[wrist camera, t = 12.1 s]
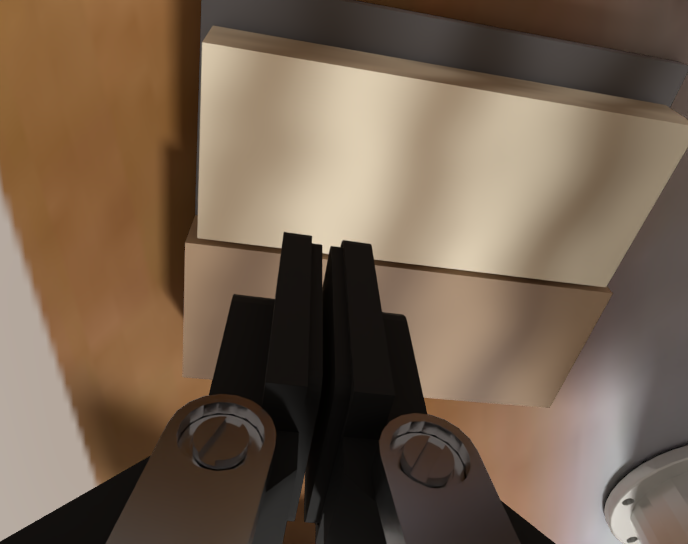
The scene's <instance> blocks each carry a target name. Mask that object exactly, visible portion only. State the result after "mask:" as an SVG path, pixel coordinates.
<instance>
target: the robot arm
mask: <svg viewBox="0 0 688 544" xmlns="http://www.w3.org/2000/svg"><path fill="white" fill-rule="evenodd" d="M304 474H305V499H304V521H305V522H310V523H316V538H315V544H555V543H554V542H553V541H551V540H550V539H549V538H548V537H546V536H545V535H544V534H542V533H541V532H540V531H539V530H537V529H536V528H535V527H534V526H532V525H531V524H530V523H529V522H527V521H526V520H525V519H524V518H522V517H521V516H520V515H518V514H517V513H516V512H515V511H513V510H512V509H511V508H510V507H508V506H507V505H506V504H505V503H503V502H502V501H501V500H500V498H499V496H498V494H497V492H496V489H495V487H494V485H493V483H492V481H491V479H490V477H489V474H488V472H487V470H486V468H485V466H484V464H483V461H482V459H481V457H480V455H479V453H478V451H477V449H476V448H475V446H474V445H473V443H472V441H471V440H470V438H468V437H467V436H466V435H465V434H464V433H463V432H462V431H461V430H460V429H459V428H458V427H456V426H454V425H453V424H451V423H449V422H448V421H446V420H444V419H441V418H438V417H435V416H432V415H429V414H427V411H426V406H425V402H424V397H423V392H422V388H421V383H420V378H419V374H418V369H417V364H416V360H415V355H414V350H413V346H412V341H411V336H410V332H409V327H408V323H407V319H406V316H404V315H403V314H395V313H386V312H382V308H381V301H380V295H379V289H378V282H377V276H376V269H375V263H374V257H373V250H372V245H371V244H369V243H361V242H354V241H347V240H343V241H342V243H341V246H340V247H336V246H331V247H330V250H329V255H328V260H327V266H326V271H325V276H324V282H323V287H322V245H321V244H314V243H312V236H310V235H303V234H296V233H288V232H284V233H283V241H282V248H281V256H280V263H279V271H278V278H277V286H276V294H275V299H271V298H263V297H255V296H247V295H239V294H234V295H233V297H232V300H231V305H230V309H229V313H228V317H227V321H226V326H225V330H224V334H223V338H222V342H221V346H220V351H219V355H218V359H217V363H216V367H215V372H214V376H213V380H212V384H211V388H210V393H209V396H204V397H201V398H198V399H196V400H193V401H191V402H189V403H187V404H186V405H185V406H183V407H182V408H180V409H179V410H178V411H177V412H176V413H175V414H174V415H173V417H172V418H171V419H170V421H169V422H168V424H167V426H166V428H165V430H164V431H163V433H162V435H161V437H160V439H159V441H158V443H157V445H156V447H155V449H154V451H153V453H152V455H151V456H149V457H148V458H146V459H144V460H142V461H141V462H139V463H137V464H135V465H134V466H132V467H130V468H128V469H127V470H125V471H123V472H121V473H120V474H118V475H116V476H114V477H113V478H111V479H109V480H107V481H106V482H104V483H102V484H100V485H99V486H97V487H95V488H93V489H92V490H90V491H88V492H87V493H85V494H83V495H81V496H79V497H78V498H76V499H74V500H72V501H70V502H69V503H67V504H65V505H63V506H62V507H60V508H58V509H56V510H55V511H53V512H51V513H49V514H48V515H46V516H44V517H42V518H41V519H39V520H37V521H35V522H34V523H32V524H30V525H28V526H27V527H25V528H23V529H21V530H20V531H18V532H16V533H15V534H13V535H11V536H9V537H8V538H6V539H4V540H2V541H1V542H0V544H282V543H283V538H284V533H285V528H286V523H287V521H295V517H296V512H297V507H298V503H299V498H300V493H301V488H302V484H303V479H304ZM604 514H605V520H606V522H607V524H608V526H609V528H610V530H611V532H612V534H613V535H614V536H615V537H616V538H617V539H618V540H619V541H621V542H622V543H624V544H688V445H687V446H683V447H680V448H676V449H673V450H671V451H668V452H666V453H663V454H661V455H658V456H656V457H654V458H652V459H651V460H649V461H647V462H645V463H643V464H641V465H640V466H638V467H637V468H636V469H634V470H633V471H631V472H630V473H629V474H627V475H626V476H625V477H624V478H623V479H622V480H621V481H620V482H619V483H618V484H617V485H616V486H615V488H614V489H613V490H612V491H611V493H610V495H609V497H608V499H607V501H606V504H605V509H604Z"/></svg>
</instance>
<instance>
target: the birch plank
mask: <svg viewBox="0 0 688 544" xmlns="http://www.w3.org/2000/svg"><path fill="white" fill-rule="evenodd" d="M687 147H688V119H686V118H684V117H683V116H681V115H680V114H678V113H677V112H675V111H674V110H672V109H671V108H669V107H668V106H666V105H662V104H657V103H651V102H645V101H640V100H634V99H628V98H623V97H617V96H611V95H606V94H600V93H594V92H589V91H583V90H577V89H572V88H566V87H560V86H554V85H549V84H543V83H537V82H532V81H526V80H520V79H515V78H509V77H503V76H498V75H492V74H486V73H481V72H475V71H469V70H464V69H458V68H452V67H447V66H441V65H435V64H429V63H424V62H418V61H412V60H407V59H401V58H395V57H390V56H384V55H378V54H373V53H367V52H361V51H356V50H350V49H344V48H339V47H333V46H327V45H321V44H316V43H310V42H304V41H299V40H293V39H287V38H282V37H276V36H270V35H265V34H259V33H253V32H248V31H242V30H236V29H231V28H225V27H219V26H212V28H211V29H210V31H209V32H208V34H207V35H206V37H205V38H204V40H203V42H202V68H201V108H200V148H199V188H198V227H197V238H200V239H209V240H217V241H225V242H234V243H242V244H250V245H258V246H267V247H275V248H282V241H283V233H284V232H288V233H296V234H303V235H310V236H312V243H314V244H321V245H322V253H325V254H329V250H330V247H331V246H336V247H340V246H341V243H342V241H343V240H347V241H354V242H361V243H369V244H371V245H372V250H373V257H374V260H383V261H391V262H399V263H408V264H416V265H424V266H432V267H441V268H449V269H457V270H466V271H474V272H482V273H491V274H499V275H507V276H515V277H524V278H532V279H540V280H549V281H557V282H565V283H573V284H582V285H590V286H598V287H607V285H608V283H609V281H610V280H611V278H612V276H613V275H614V273H615V271H616V269H617V268H618V266H619V264H620V263H621V261H622V259H623V257H624V256H625V254H626V252H627V250H628V249H629V247H630V245H631V244H632V242H633V240H634V238H635V237H636V235H637V233H638V232H639V230H640V228H641V226H642V225H643V223H644V221H645V220H646V218H647V216H648V214H649V213H650V211H651V209H652V208H653V206H654V204H655V202H656V201H657V199H658V197H659V196H660V194H661V192H662V190H663V189H664V187H665V185H666V183H667V182H668V180H669V178H670V177H671V175H672V173H673V171H674V170H675V168H676V166H677V165H678V163H679V161H680V159H681V158H682V156H683V154H684V153H685V151H686V149H687Z"/></svg>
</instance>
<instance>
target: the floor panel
mask: <svg viewBox="0 0 688 544" xmlns="http://www.w3.org/2000/svg"><path fill="white" fill-rule="evenodd" d="M212 26H219V27H225V28H231V29H236V30H242V31H248V32H253V33H259V34H265V35H270V36H276V37H282V38H287V39H293V40H299V41H304V42H310V43H316V44H321V45H327V46H333V47H339V48H344V49H350V50H356V51H361V52H367V53H373V54H378V55H384V56H390V57H395V58H401V59H407V60H412V61H418V62H424V63H429V64H435V65H441V66H447V67H452V68H458V69H464V70H469V71H475V72H481V73H486V74H492V75H498V76H503V77H509V78H515V79H520V80H526V81H532V82H537V83H543V84H549V85H554V86H560V87H566V88H572V89H577V90H583V91H589V92H594V93H600V94H606V95H611V96H617V97H623V98H628V99H634V100H640V101H645V102H651V103H657V104H662V105H666V106H668V107H669V108H670V107H671V105H672V103H673V101H674V99H675V97H676V95H677V93H678V91H679V89H680V87H681V85H682V83H683V81H684V79H685V77H686V75H687V73H688V65H686V64H684V63H681V62H677V61H672V60H667V59H662V58H656V57H651V56H646V55H640V54H635V53H630V52H625V51H619V50H614V49H609V48H603V47H598V46H593V45H588V44H582V43H577V42H572V41H567V40H561V39H556V38H551V37H545V36H540V35H535V34H530V33H524V32H519V31H514V30H508V29H503V28H498V27H493V26H487V25H482V24H477V23H471V22H466V21H461V20H456V19H450V18H445V17H440V16H434V15H429V14H424V13H419V12H413V11H408V10H403V9H398V8H392V7H387V6H382V5H376V4H371V3H366V2H361V1H355V0H201V33H200V67H199V101H198V135H197V168H196V202H195V217H194V219H193V222H192V225H191V228H190V230H189V233H188V236H187V239H186V241H185V274H184V327H183V377H187V378H199V379H211V380H213V376H214V372H215V367H216V363H217V359H218V355H219V351H220V346H221V342H222V338H223V334H224V330H225V326H226V321H227V317H228V313H229V309H230V305H231V300H232V297H233V295H234V294H239V295H247V296H255V297H263V298H271V299H275V294H276V286H277V278H278V271H279V263H280V256H281V248H275V247H267V246H258V245H250V244H242V243H234V242H225V241H217V240H209V239H200V238H197V227H198V188H199V148H200V108H201V68H202V42H203V40H204V38H205V37H206V35H207V34H208V32H209V31H210V29H211V28H212ZM328 255H329V254H325V253H322V287H323V282H324V276H325V271H326V266H327V260H328ZM374 263H375V269H376V276H377V282H378V289H379V295H380V301H381V308H382V312H386V313H395V314H403V315H404V316H406V319H407V323H408V327H409V332H410V336H411V341H412V346H413V350H414V355H415V360H416V364H417V369H418V374H419V378H420V383H421V388H422V392H423V397H424V398H436V399H447V400H459V401H471V402H483V403H495V404H507V405H518V406H530V407H542V408H550V406H551V405H552V403H553V401H554V399H555V397H556V395H557V394H558V392H559V390H560V388H561V386H562V385H563V383H564V381H565V379H566V377H567V376H568V374H569V372H570V370H571V368H572V366H573V365H574V363H575V361H576V359H577V357H578V356H579V354H580V352H581V350H582V348H583V347H584V345H585V343H586V341H587V339H588V337H589V336H590V334H591V332H592V330H593V328H594V327H595V325H596V323H597V321H598V319H599V318H600V316H601V314H602V312H603V310H604V309H605V307H606V305H607V303H608V301H609V299H610V298H611V296H612V294H613V293H612V292H611V291H610V289H609V288H608V287H598V286H590V285H582V284H573V283H565V282H557V281H549V280H540V279H532V278H524V277H515V276H507V275H499V274H491V273H482V272H474V271H466V270H457V269H449V268H441V267H432V266H424V265H416V264H408V263H399V262H391V261H383V260H374Z"/></svg>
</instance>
